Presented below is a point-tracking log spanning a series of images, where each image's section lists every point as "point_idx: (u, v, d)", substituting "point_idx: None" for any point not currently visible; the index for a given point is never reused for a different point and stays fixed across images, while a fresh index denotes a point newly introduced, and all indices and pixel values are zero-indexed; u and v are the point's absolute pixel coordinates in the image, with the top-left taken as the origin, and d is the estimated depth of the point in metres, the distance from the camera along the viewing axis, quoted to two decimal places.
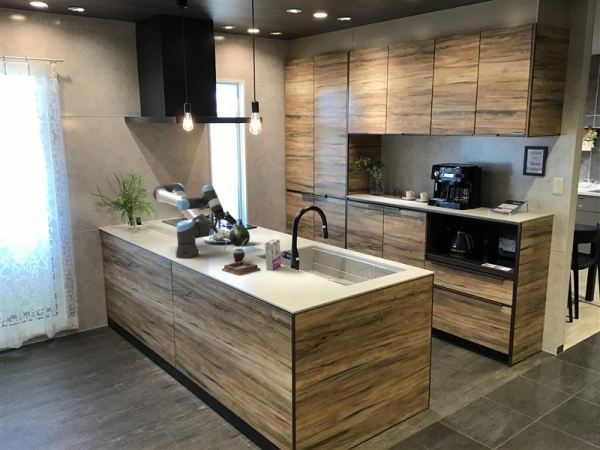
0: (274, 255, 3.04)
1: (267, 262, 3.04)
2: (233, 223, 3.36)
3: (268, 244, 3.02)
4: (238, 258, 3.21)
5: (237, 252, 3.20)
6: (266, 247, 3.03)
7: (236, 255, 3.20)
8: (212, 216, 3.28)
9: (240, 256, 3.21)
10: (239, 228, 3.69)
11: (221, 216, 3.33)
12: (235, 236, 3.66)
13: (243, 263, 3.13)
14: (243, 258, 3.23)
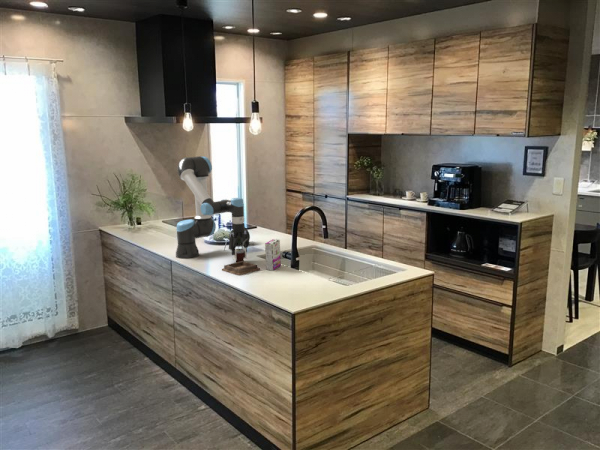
0: (274, 255, 3.04)
1: (267, 262, 3.04)
2: (245, 246, 3.25)
3: (268, 244, 3.02)
4: (238, 258, 3.21)
5: (237, 252, 3.20)
6: (266, 247, 3.03)
7: (236, 255, 3.21)
8: (232, 237, 3.16)
9: (240, 256, 3.21)
10: None
11: (239, 235, 3.21)
12: None
13: (243, 263, 3.13)
14: (243, 258, 3.24)
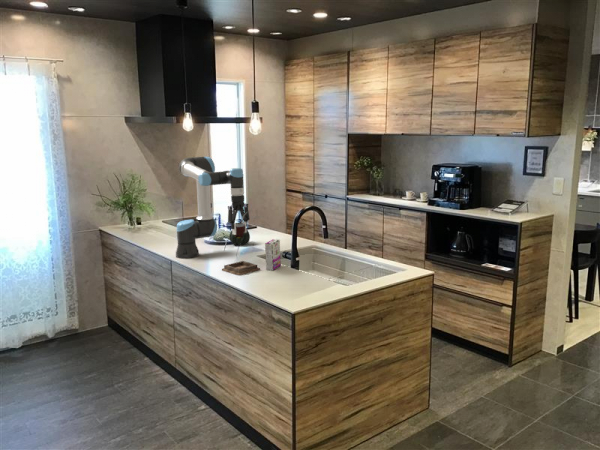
0: (274, 255, 3.04)
1: (267, 262, 3.04)
2: (245, 220, 3.07)
3: (268, 244, 3.02)
4: (238, 232, 3.03)
5: (237, 226, 3.02)
6: (266, 247, 3.03)
7: (236, 229, 3.03)
8: (231, 209, 2.98)
9: (240, 230, 3.03)
10: None
11: (239, 208, 3.03)
12: (235, 236, 3.66)
13: (243, 263, 3.13)
14: (243, 232, 3.06)
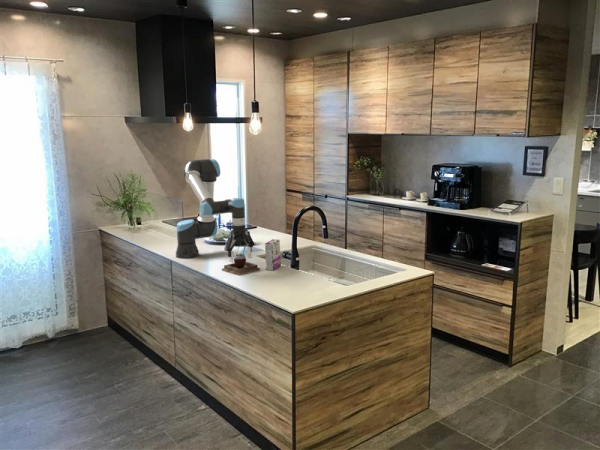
0: (274, 255, 3.04)
1: (267, 262, 3.04)
2: (249, 246, 3.08)
3: (268, 244, 3.02)
4: (239, 264, 3.03)
5: (238, 258, 3.02)
6: (266, 247, 3.03)
7: (237, 261, 3.02)
8: (231, 238, 2.97)
9: (241, 262, 3.03)
10: None
11: (240, 237, 3.02)
12: None
13: None
14: (244, 264, 3.05)
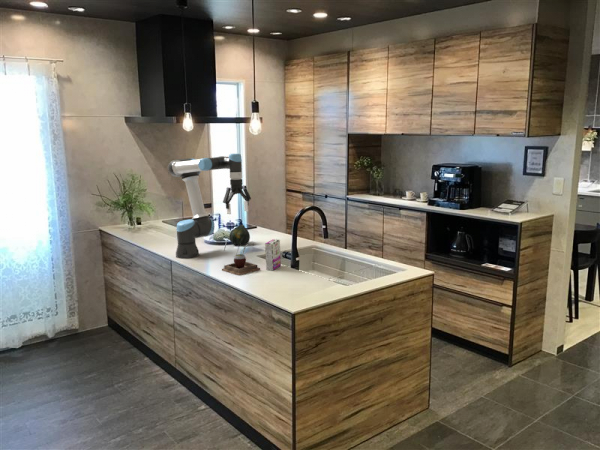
0: (274, 255, 3.04)
1: (267, 262, 3.04)
2: (246, 200, 3.26)
3: (268, 244, 3.02)
4: (239, 264, 3.03)
5: (238, 258, 3.02)
6: (266, 247, 3.03)
7: (237, 261, 3.02)
8: (229, 190, 3.16)
9: (241, 262, 3.03)
10: (239, 228, 3.69)
11: (238, 191, 3.20)
12: (235, 236, 3.66)
13: None
14: (244, 264, 3.05)
